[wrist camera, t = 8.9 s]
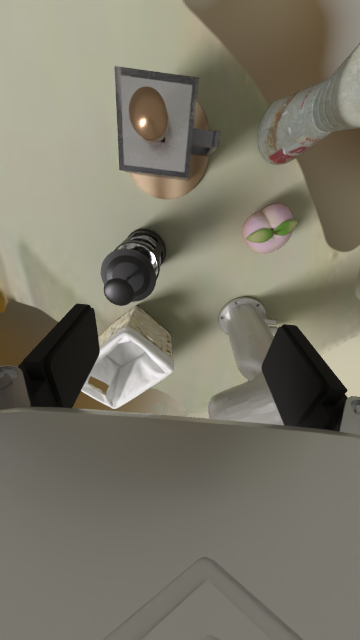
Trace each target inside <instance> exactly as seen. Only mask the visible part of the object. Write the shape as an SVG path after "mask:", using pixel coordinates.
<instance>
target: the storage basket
mask: <svg viewBox="0 0 360 640" xmlns="http://www.w3.org/2000/svg"><path fill="white" fill-rule="evenodd" d="M98 340H99V347H100V353H99V357H98V359H97V360H96V362H95V364H94V366H93V368H92V370H91V372H90V374H89V376H88V378H87V380H86V382H85V384H84V386H83V388H82V390H81V391H82V392H84V393H85V394H87V395H89V396H91V397H92V398H94V399H96V400H97V401H99V402H101V403H103V404H105V405H107V406H109V407H111V408H113V409H116V408H118V407H120V406H122V405H123V404H125V403H127V402H128V401H130V400H132V399H133V398H135V397H136V396H138V395H139V394H141V393H142V392H144V391H145V390H147V389H149V388H150V387H152V386H153V385H155V384H156V383H158V382H159V381H161V380H163V379H164V378H166V377H167V376H168V375H170V374H171V373H172V372H173V371H174V360H173V355H172V344H171V336H170V334H169V332H168V331H166V330H165V329H164V328H163V327H162V326H160V325H159V324H158V323H157V322H156V321H155V320H154V319H152V318H151V317H150V316H149V315H148V314H146V313H145V311H144V310H142V309H141V308H139V307H138V306H135V307H133V308H132V309H131V310H130V311H128V312H127V313H126V314H124V315H123V316H122V317H121V318H120V319H118V320H117V321H115V323H114V324H112V325H111V326H110V327H109V328H108V329H107V330H106V331H105V332H104V333H103V334H102V335H100V336H99V337H98ZM90 376H92V377H94V378H96V379H98V380H100V381H102V382H105V383H106V384H107V385H109V387H108V389H107V392H106V393H104V392H103V391H101V389H97V388H96V387H94V386H93V385H91V384H90V383H88V380H89V378H90Z"/></svg>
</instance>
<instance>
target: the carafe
mask: <svg viewBox="0 0 360 640" xmlns="http://www.w3.org/2000/svg"><path fill="white" fill-rule="evenodd" d="M198 79H199V78H196V77H189V76H182V75H174V74H167V73H160V72H153V71H146V70H139V69H131V68H124V67H117V66H115V83H116V105H117V126H118V147H119V169H120V170H122V171H126V172H130V173H134V174H138V175H144V176H152V177H160V178H168V179H177V180H185V181H188V177H189V167H190V157H191V155H199V156H207V157H210V156H211V155H212V154H213V153H214V152H215V150H216V149H217V148H218V142H219V136H220V131H212V130H204V129H197V128H194V118H195V108H196V99H197V89H198ZM145 86H147V87H152V88H154V89H155V90H157V91H158V92H159V93H160V95H161V96H162V98H163V100H164V102H165V105H166V109H167V113H168V118H169V127H168V131H167V134H166V136H165V143H164V142H159V143H156V144H151V143H148V142H146V141H144V140H143V139H142V138H141V137H140V135H139V134H138V133H137V132H136V131H135V130H134V128H133V126H132V124H131V121H130V117H129V104H130V100H131V98H132V96H133V94H134V93H135V91H136V90H138V89H139V88H141V87H145Z"/></svg>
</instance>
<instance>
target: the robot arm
mask: <svg viewBox="0 0 360 640" xmlns="http://www.w3.org/2000/svg"><path fill="white" fill-rule="evenodd" d="M276 323H277V321H276V320H275V319H268V318H266V311H265V308H264V307H263V305H262V304H261V303H260V302H259V301H257V300H256V299H253V298H248V297H242V298H237V299H234V300H232V301H230V302H229V303H227V304H226V305H225V306H224V307H223V308H222V310H221V312H220V314H219V325H220V328H221V330H222V331H223V332H224V333H225V334H227V335H228V336H229V340H230V343H231V347H232V351H233V354H234V358H235V361H236V364H237V367H238V370H239V371H240V373H241V374H242V375H243V376H244V377H245V378H246V379H248V380H249V381H247V382H245V383H243V384H241V385H238V386H235V387H233V388H230V389H227V390H225V391H223V392H220V393H218V394H216V395H214V396H213V397H212V398H211V399H210V401H209V405H208V413H209V418H210V419H206V418H195V417H182V416H170V415H158V414H145V413H133V412H120V411H106V410H93V409H77V408H76V409H75V408H72V407H73V405H74V403H75V401H76V399H77V397H78V395H79V393H80V391H81V390H82V388H83V386H84V384H85V382H86V380H87V378H88V376H89V374H90V372H91V370H92V368H93V366H94V364H95V362H96V360H97V359H98V357H99V353H100V347H99V340H98V333H97V326H96V319H95V312H94V309H93V308H91V307H90V305H86V304H76V305H75V306H74V307H73V308H72V309H71V310H70V311H69V312H68V313H67V314H66V315H65V316H64V317H63V318H62V320H61V321H60V322H59V323H58V324H57V325H56V326H55V327H54V328H53V329H52V330H51V331H50V332H49V333H48V334H47V336H46V337H45V338H44V339H43V340H42V341H41V342H40V343H39V344H38V345H37V346H36V347H35V348H34V349H33V350H32V352H31V353H30V354H29V355H28V356H27V357H26V358H25V359H24V360H23V362H22V363H21V364H20V365H19V366H18V367H16V366H2V367H0V640H360V397H356V396H355V397H354V396H351V397H349V398H347V396H346V395H345V393H346V392H347V389H346V388H345V386H344V385H343V384H342V383H341V381H340V380H339V379H338V378H337V376H336V375H335V374H334V372H333V371H332V370H331V369H330V367H329V366H328V365H327V364H326V363H325V361H324V360H323V359H322V357H321V356H320V355H319V354H318V352H317V351H316V350H315V348H314V347H313V346H312V345H311V343H310V342H309V341H308V340H307V338H306V337H305V336H304V335H303V333H302V332H301V331H300V330H299V328H298V327H297V326H295V325H286V324H284V325H282V326H281V327H279V328H278V327H273V326H267V324H272V325H276ZM273 334H275V336H273Z"/></svg>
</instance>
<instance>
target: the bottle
mask: <svg viewBox="0 0 360 640" xmlns="http://www.w3.org/2000/svg"><path fill="white" fill-rule="evenodd" d="M355 128H360V43H359V45H358V46H357V47H356V48H355V49H354V50H353V52H352V53H351V54H350V56H349V57H348V58H347V59H346V60H345V61H344V62H343V63H342V64H341V66H340V67H339V68H338V69H337V70H336V72H335V73H334V74H333V75H332V76H331V77H330V78H329V79H328V80H326V81H323V82H321V83H319V84H316V85H314V86H312V87H309V88H307V89H305V90H302V91H300V92H298V93H295V94H293V95H290V96H286V97H283V98H281V99H279V100H276V101H275V102H273V103H272V104H271V105H270V106H269V107H268V109H267V110H266V112H265V114H264V116H263V118H262V121H261V123H260V127H259V131H258V147H259V150H260V153H261V155H262V157H263V158H264V159H265V160H266V161H267V162H269V163H271V164H276V165H279V164H285V163H287V162H290V161H291V160H293V159H295V158H296V157H298V156H299V155H300V154H302V153H303V152H304V151H306V150H307V149H309V148H311V147H312V146H313V145H315V144H316V143H318V142H319V141H320V140H322V139H323V138H325V137H326V136H327V135H329V134H330V133H331V132H333V131H337V130H345V129H355Z"/></svg>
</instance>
